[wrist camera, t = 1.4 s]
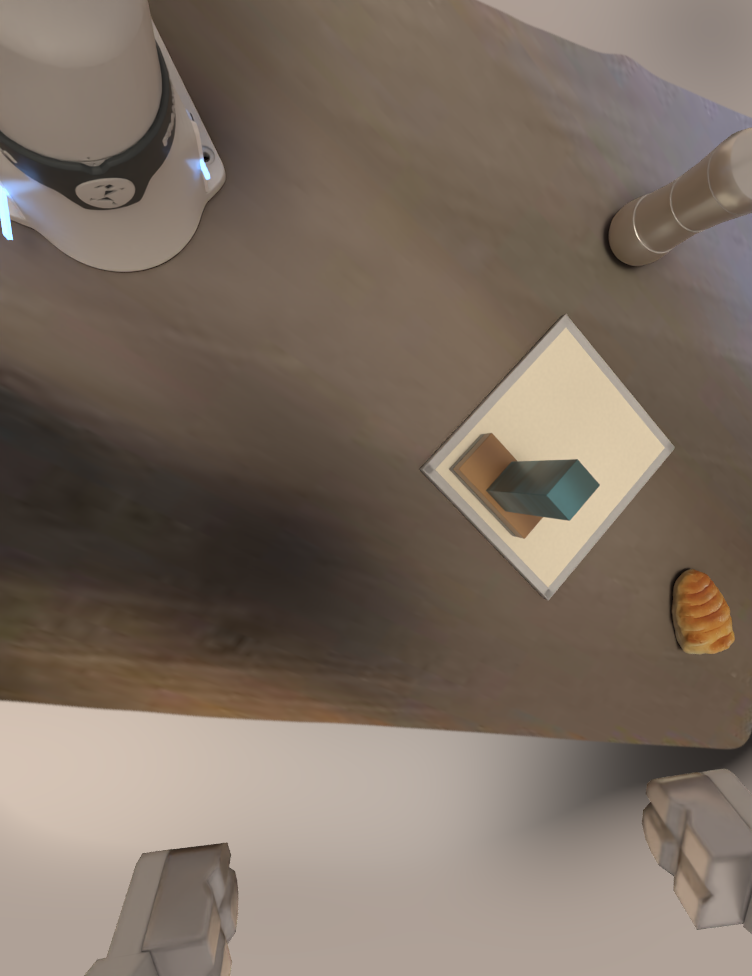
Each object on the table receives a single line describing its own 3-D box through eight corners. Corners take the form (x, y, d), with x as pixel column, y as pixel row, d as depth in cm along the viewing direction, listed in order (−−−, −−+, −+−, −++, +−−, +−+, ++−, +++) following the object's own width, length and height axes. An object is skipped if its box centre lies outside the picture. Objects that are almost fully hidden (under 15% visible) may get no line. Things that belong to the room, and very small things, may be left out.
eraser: (512, 536, 56) (592, 555, 43) (448, 469, 54) (513, 468, 41) (542, 501, 57) (630, 510, 44) (480, 434, 55) (554, 422, 42)
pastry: (657, 580, 62) (684, 587, 58) (702, 559, 63) (731, 564, 60) (677, 654, 63) (705, 666, 59) (721, 631, 64) (751, 641, 61)
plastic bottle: (631, 200, 59) (823, 69, 40) (659, 255, 60) (859, 153, 41) (589, 228, 58) (766, 107, 39) (619, 283, 59) (806, 193, 40)
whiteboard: (544, 598, 58) (548, 600, 57) (419, 469, 54) (422, 469, 53) (669, 448, 62) (675, 447, 61) (561, 315, 57) (566, 313, 57)
